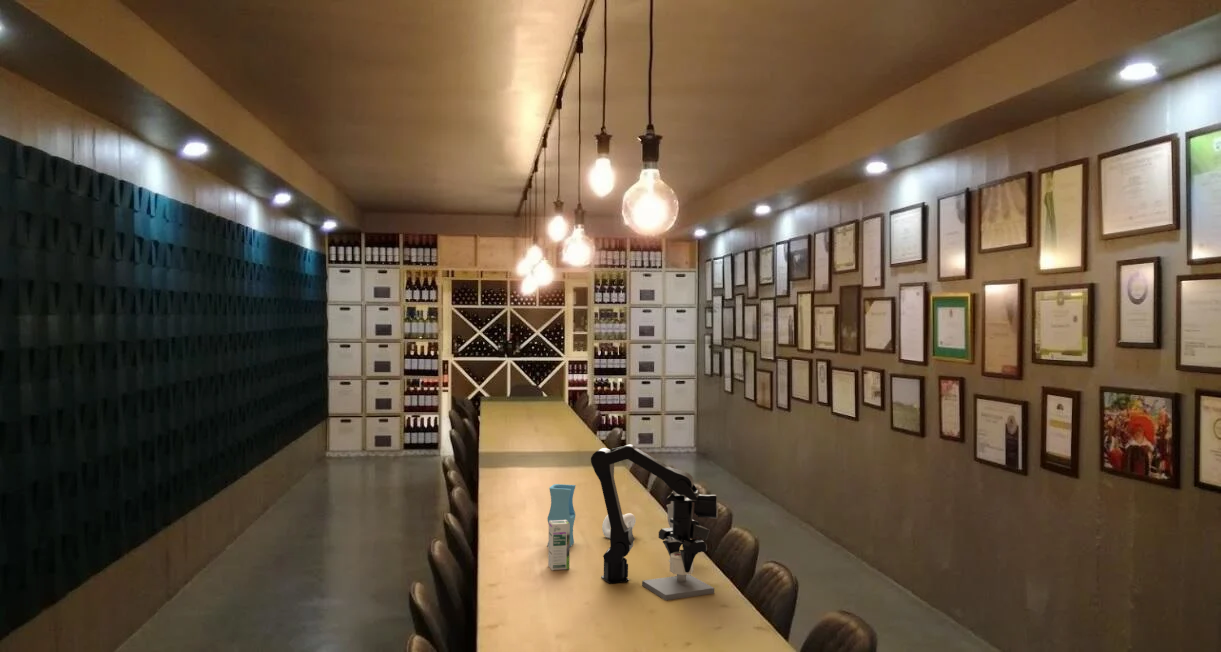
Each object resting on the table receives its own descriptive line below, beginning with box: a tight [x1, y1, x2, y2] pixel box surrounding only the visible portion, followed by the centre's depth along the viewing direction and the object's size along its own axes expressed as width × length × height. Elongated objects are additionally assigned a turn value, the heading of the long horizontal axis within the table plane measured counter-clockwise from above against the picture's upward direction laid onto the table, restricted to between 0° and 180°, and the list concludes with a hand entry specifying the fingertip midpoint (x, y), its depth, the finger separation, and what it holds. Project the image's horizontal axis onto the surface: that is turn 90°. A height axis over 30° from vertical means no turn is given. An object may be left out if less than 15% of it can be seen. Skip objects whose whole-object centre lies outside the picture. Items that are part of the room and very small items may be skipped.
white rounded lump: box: [601, 512, 637, 540], centre depth 299 cm, size 11×12×9 cm
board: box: [641, 574, 715, 601], centre depth 242 cm, size 16×14×5 cm
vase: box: [547, 483, 576, 548], centre depth 289 cm, size 8×8×20 cm
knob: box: [669, 551, 695, 575], centre depth 246 cm, size 7×7×5 cm
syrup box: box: [547, 520, 571, 571], centre depth 262 cm, size 6×6×14 cm
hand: (681, 569), depth 246 cm, fingers closed on knob, 6 cm apart
